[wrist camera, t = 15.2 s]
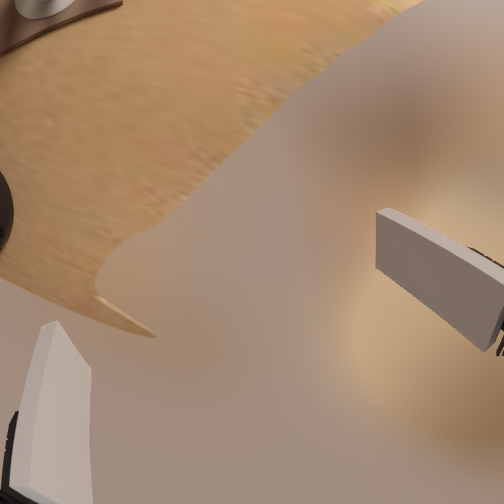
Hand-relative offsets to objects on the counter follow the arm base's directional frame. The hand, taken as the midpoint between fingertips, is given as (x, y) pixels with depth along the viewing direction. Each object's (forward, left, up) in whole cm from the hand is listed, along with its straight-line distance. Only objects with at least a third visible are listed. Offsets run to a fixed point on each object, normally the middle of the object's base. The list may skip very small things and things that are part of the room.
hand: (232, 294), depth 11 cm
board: (-10, +31, -32) cm, 45 cm away
